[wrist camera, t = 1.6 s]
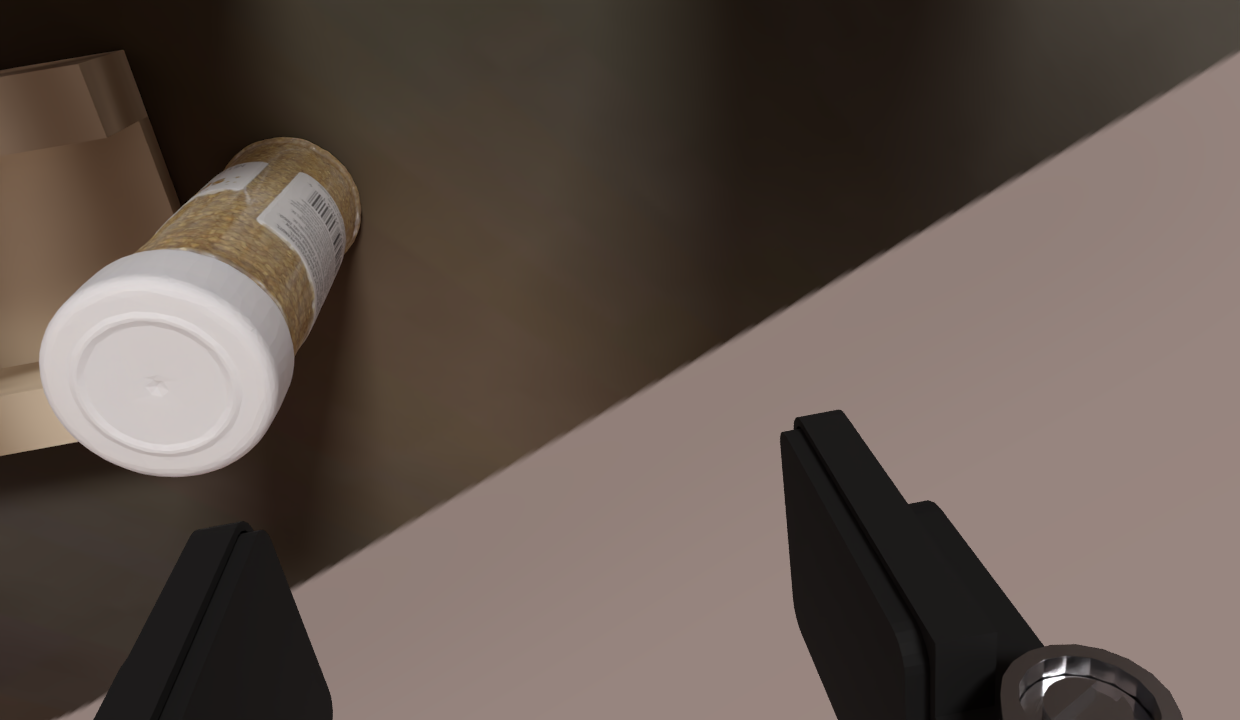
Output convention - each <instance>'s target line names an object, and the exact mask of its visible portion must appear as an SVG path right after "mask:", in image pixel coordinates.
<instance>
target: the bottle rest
mask: <svg viewBox="0 0 1240 720" xmlns="http://www.w3.org/2000/svg"><path fill="white" fill-rule="evenodd" d="M180 208H181V205H180V202H179V199H178V197H177V194H176V191H175V188H174V186H173V183H172V180H171V178H170V175H169V172H168V169H167V167H166V164H165V161H164V158H163V156H162V153H161V150H160V148H159V145H158V142H157V139H156V137H155V134H154V131H153V128H152V126H151V123H150V120H149V118H148V115H147V112H146V109H145V107H144V104H143V101H142V98H141V96H140V93H139V90H138V88H137V85H136V82H135V79H134V77H133V74H132V71H131V68H130V66H129V63H128V60H127V58H126V55H125V52H124V50H118V51H112V52H106V53H100V54H94V55H88V56H82V57H76V58H70V59H64V60H58V61H52V62H46V63H40V64H34V65H28V66H22V67H16V68H10V69H4V70H0V456H3V455H8V454H14V453H19V452H25V451H30V450H36V449H41V448H47V447H52V446H57V445H63V444H68V443H74V442H78V441H77V440H76V439H75V438H74V437H73V436H72V435H71V434H70V433H69V432H68V431H67V430H66V428H65V427H64V426H63V425H62V424H61V422H60V421H59V420H58V418H57V417H56V415H55V414H54V412H53V410H52V408H51V407H50V405H49V403H48V400H47V398H46V396H45V393H44V390H43V386H42V382H41V378H40V368H39V353H40V347H41V342H42V339H43V337H44V334H45V331H46V328H47V326H48V324H49V322H50V321H51V319H52V318H53V316H54V315H55V313H56V312H57V310H58V309H59V308H60V307H61V306H62V305H63V304H64V303H65V302H66V301H67V300H68V299H69V298H70V297H71V296H72V295H73V294H74V293H75V292H76V291H77V290H78V289H79V288H80V287H81V286H82V285H83V284H84V283H85V282H87V281H88V280H89V279H90V278H91V277H92V276H94V275H95V274H96V273H97V272H98V271H100V270H101V269H102V268H104V267H105V266H107V265H109V264H110V263H112V262H114V261H116V260H118V259H120V258H122V257H125V256H129V255H132V254H134V253H135V252H136V251H138V249H140V248H141V247H142V246H144V245H145V244H146V243H147V242H148V241H149V240H150V239H151V238H152V237H153V236H154V235H155V234H156V232H157V231H158V230H159V229H160V228H161V227H162V225H163V224H164V223H165V222H166V221H167V220H168V219H169V218H170V217H171V216H172V215H174V214H175V213H176V212H177V211H178V210H179V209H180Z"/></svg>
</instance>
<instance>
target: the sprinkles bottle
mask: <svg viewBox="0 0 1240 720" xmlns="http://www.w3.org/2000/svg"><path fill="white" fill-rule="evenodd" d="M360 224H361V204H360V198H359V192H358V189H357V187H356V185H355V183H354V181H353V179H352V177H351V175H350V173H349V172H348V171H347V169H346V168H345V167H344V166H343V165H342V164H341V163H340V162H339V161H338V160H337V159H336V158H335V157H334V156H333V155H331V154H330V153H329V152H328V151H326V150H324V149H322V148H320V147H319V146H317V145H315V144H313V143H311V142H309V141H307V140H304V139H300V138H291V137H276V138H272V139H265V140H262V141H258V142H255V143H252V144H250V145H248V146H246V147H245V148H244V149H242V150H241V151H240V152H239V153H238V154H236V155H235V156H234V157H233V158H232V159H231V161H230V162H229V163H228V164H227V166H226V167H225V169H224V171H223V172H221V173H219V174H218V175H216V176H215V177H214V178H213V179H212V180H210V181H209V182H208V183H207V184H206V185H205V186H204V187H203V188H202V189H201V190H200V191H199V192H197V193H196V194H195V195H194V196H193V197H192V198H191V199H190V200H189V201H188V202H186V203H185V204H184V205H183V206H182V207H181V208H180V209H179V210H178V211H177V212H176V213H175V214H174V215H172V216H171V217H170V218H169V219H168V220H167V221H166V222H165V223H164V224H163V225H162V227H161V228H160V229H159V230H158V231H157V232H156V234H155V235H154V236H153V237H152V238H151V239H150V240H149V241H148V242H147V243H146V244H145V245H144V246H142V247H141V248H140V249H138V251H136V252H135V253H134V254H132V255H129V256H125V257H122V258H120V259H118V260H116V261H114V262H112V263H110V264H109V265H107V266H105V267H104V268H102V269H101V270H100V271H98V272H97V273H96V274H95V275H94V276H92V277H91V278H90V279H89V280H88V281H87V282H85V283H84V284H83V285H82V286H81V287H80V288H79V289H78V290H77V291H76V292H75V293H74V294H73V295H72V296H71V297H70V298H69V299H68V300H67V301H66V302H65V303H64V304H63V305H62V306H61V307H60V308H59V309H58V310H57V312H56V313H55V315H54V316H53V318H52V319H51V321H50V322H49V324H48V326H47V328H46V331H45V334H44V337H43V339H42V342H41V347H40V353H39V368H40V378H41V382H42V386H43V390H44V393H45V396H46V398H47V400H48V403H49V405H50V407H51V408H52V410H53V412H54V414H55V415H56V417H57V418H58V420H59V421H60V422H61V424H62V425H63V426H64V427H65V428H66V430H67V431H68V432H69V433H70V434H71V435H72V436H73V437H74V438H75V439H76V440H77V441H78V442H80V443H81V444H82V445H84V446H85V447H86V448H87V449H89V450H90V451H92V452H93V453H95V454H96V455H98V456H100V457H101V458H103V459H105V460H107V461H109V462H111V463H113V464H116V465H118V466H120V467H123V468H125V469H128V470H131V471H134V472H138V473H142V474H147V475H153V476H163V477H185V476H194V475H200V474H204V473H208V472H212V471H215V470H218V469H221V468H223V467H225V466H228V465H229V464H231V463H233V462H235V461H237V460H238V459H240V458H241V457H242V456H244V455H245V454H246V453H248V452H249V451H250V450H251V449H252V448H253V447H254V446H255V445H256V444H257V443H258V442H259V441H260V440H261V439H262V437H263V436H264V435H265V433H266V432H267V430H268V428H269V427H270V425H271V423H272V421H273V420H274V418H275V416H276V414H277V412H278V410H279V409H280V407H281V404H282V402H283V400H284V398H285V395H286V393H287V391H288V388H289V386H290V383H291V380H292V376H293V370H294V358H295V355H296V353H297V351H298V349H299V348H300V347H301V346H302V344H303V343H304V342H305V340H306V338H307V337H308V335H309V333H310V331H311V329H312V327H313V325H314V323H315V320H316V318H317V316H318V314H319V312H320V310H321V307H322V305H323V303H324V301H325V299H326V297H327V295H328V292H329V290H330V288H331V286H332V284H333V281H334V279H335V277H336V275H337V272H338V270H339V268H340V265H341V263H342V260H343V256H344V254H345V253H346V252H347V251H348V249H349V248H350V246H351V245H352V244H353V242H354V241H355V238H356V236H357V233H358V231H359V227H360Z"/></svg>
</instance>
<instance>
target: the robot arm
mask: <svg viewBox="0 0 1240 720" xmlns="http://www.w3.org/2000/svg"><path fill="white" fill-rule="evenodd" d="M780 445H781V458H782V470H783V482H784V494H785V505H786V518H787V529H788V530H787V531H788V542H789V554H790V567H791V579H792V591H793V602H794V609H795V614H796V618H797V622H798V625H799V628H800V631H801V633H802V636H803V638H804V641H805V643H806V645H807V648H808V650H809V652H810V655H811V657H812V659H813V662H814V664H815V667H816V669H817V671H818V674H819V676H820V678H821V681H822V683H823V685H824V688H825V690H826V692H827V695H828V697H829V700H830V702H831V705H832V707H833V709H834V712H835V714H836V716H837V719H838V720H1183V718H1182V715H1181V712H1180V710H1179V708H1178V706H1177V704H1176V702H1175V700H1174V699H1173V697H1172V695H1171V693H1170V691H1169V690H1168V689H1167V688H1165V687H1164V685H1163V684H1161V682H1160V681H1159V680H1158V679H1157V678H1156V677H1155V676H1154V675H1153V674H1152V673H1150V672H1148V671H1147V670H1145V669H1143V668H1142V667H1140V666H1139V665H1137V664H1136V663H1134V662H1132V661H1131V660H1129V659H1127V658H1124V657H1121V656H1119V655H1117V654H1114V653H1111V652H1108V651H1106V650H1103V649H1099V648H1093V647H1087V646H1082V645H1076V644H1072V645H1049V646H1045V647H1044V645H1043V644H1042V643H1041V641H1040V640H1039V639H1038V637H1037V636H1036V635H1035V633H1034V632H1033V631H1032V629H1031V628H1030V627H1029V625H1028V624H1027V623H1026V621H1025V620H1024V619H1023V617H1022V616H1021V615H1020V613H1019V612H1018V611H1017V609H1016V608H1015V607H1014V606H1013V604H1012V603H1011V601H1010V600H1009V599H1008V597H1007V596H1006V595H1005V593H1004V592H1003V591H1002V590H1001V588H1000V587H999V586H998V584H997V583H996V582H995V580H994V579H993V578H992V577H991V575H990V574H989V572H988V571H987V570H986V568H985V567H984V566H983V564H982V563H981V562H980V560H979V559H978V558H977V556H976V555H975V554H974V552H973V551H972V550H971V548H970V547H969V546H968V545H967V543H966V542H965V540H964V539H963V538H962V536H961V535H960V534H959V532H958V531H957V530H956V528H955V527H954V526H953V524H952V523H951V522H950V520H949V519H948V518H947V516H946V515H945V514H944V512H943V511H942V510H941V509H940V508H939V507H938V506H937V505H936V504H935V503H934V502H931V501H928V500H927V501H923V502H917V503H912V504H908V503H907V502H906V501H905V499H904V498H903V496H902V495H901V494H900V492H899V491H898V489H897V488H896V486H895V485H894V483H893V482H892V481H891V479H890V478H889V476H888V475H887V473H886V472H885V471H884V469H883V468H882V466H881V465H880V463H879V462H878V461H877V459H876V458H875V456H874V455H873V453H872V452H871V451H870V449H869V448H868V446H867V445H866V444H865V442H864V441H863V439H862V438H861V436H860V435H859V433H858V432H857V431H856V429H855V428H854V426H853V425H852V423H851V422H850V421H849V419H848V418H847V417H846V415H845V414H844V413H843V411H841V410H834V411H829V412H824V413H818V414H813V415H808V416H803V417H797V418H796V419H795V421H794V430H791V431H785V432H782V433H781V436H780ZM332 719H333V709H332V700H331V695H330V692H329V689H328V686H327V684H326V681H325V679H324V676H323V673H322V671H321V668H320V666H319V663H318V660H317V658H316V655H315V653H314V650H313V647H312V645H311V642H310V640H309V637H308V635H307V632H306V629H305V627H304V624H303V622H302V619H301V616H300V614H299V611H298V609H297V606H296V603H295V601H294V599H293V596H292V593H291V590H290V588H289V585H288V583H287V580H286V577H285V575H284V572H283V570H282V567H281V565H280V562H279V559H278V557H277V554H276V552H275V549H274V546H273V544H272V541H271V539H270V537H269V535H268V534H267V533H266V531H264V530H258V531H253V529H252V527H251V526H250V525H249V524H248V523H246V522H244V521H242V522H236V523H231V524H226V525H220V526H215V527H209V528H204V529H199V530H196V531H194V532H193V533H192V535H191V536H190V538H189V540H188V542H187V544H186V546H185V548H184V550H183V551H182V553H181V555H180V557H179V559H178V561H177V563H176V565H175V567H174V569H173V571H172V573H171V575H170V577H169V579H168V581H167V583H166V584H165V586H164V588H163V590H162V592H161V594H160V596H159V598H158V600H157V602H156V604H155V606H154V608H153V610H152V612H151V614H150V616H149V617H148V619H147V621H146V623H145V625H144V627H143V629H142V631H141V633H140V635H139V637H138V639H137V641H136V643H135V645H134V647H133V649H132V650H131V652H130V654H129V656H128V658H127V659H126V661H125V662H124V664H123V665H122V666H121V668H120V670H119V671H118V673H117V675H116V677H115V679H114V681H113V683H112V685H111V687H110V689H109V691H108V693H107V695H106V697H105V698H104V700H103V702H102V704H101V706H100V708H99V710H98V712H97V714H96V716H95V718H94V720H332Z"/></svg>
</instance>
